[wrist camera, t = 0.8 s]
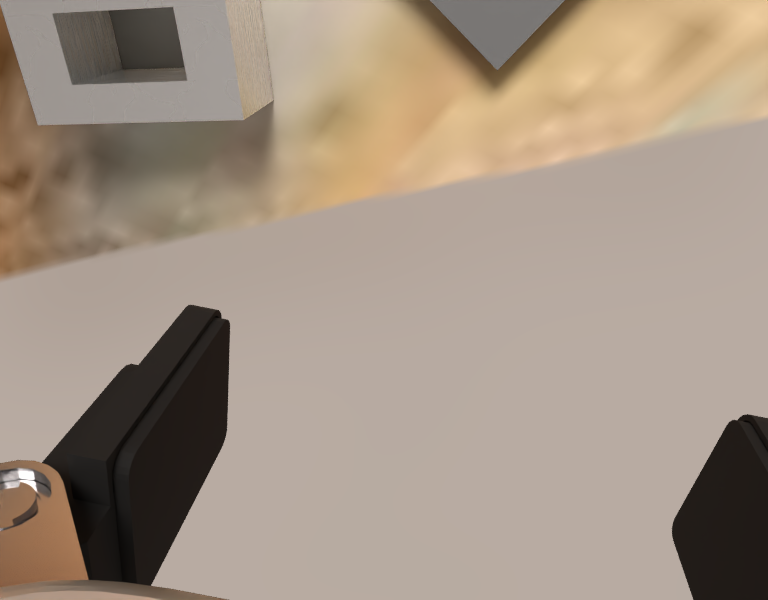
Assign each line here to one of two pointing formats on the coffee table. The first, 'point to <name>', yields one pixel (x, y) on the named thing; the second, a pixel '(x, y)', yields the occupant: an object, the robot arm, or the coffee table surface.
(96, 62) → the slotted block
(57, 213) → the coffee table surface
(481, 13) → the grey piece
